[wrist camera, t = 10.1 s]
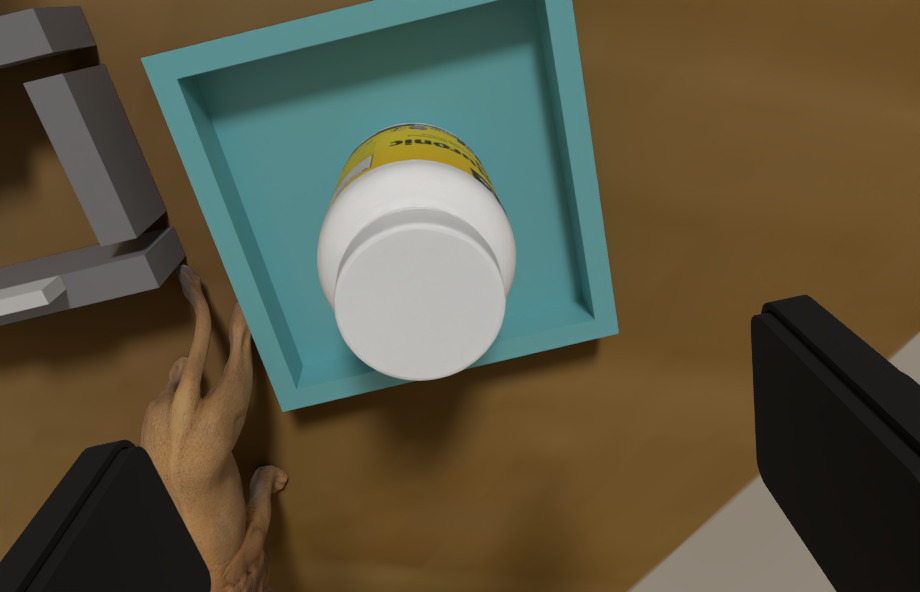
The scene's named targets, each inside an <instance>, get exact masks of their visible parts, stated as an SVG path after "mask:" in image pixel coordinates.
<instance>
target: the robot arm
mask: <svg viewBox="0 0 920 592" xmlns="http://www.w3.org/2000/svg"><path fill="white" fill-rule="evenodd" d="M751 342H752V364H753V386H754V408H755V431H756V453H757V464H758V468H759V472H760V475H761V477H762V479H763V482H764V483H765V485H766V487H767V488H768V490H769V491H770V492H771V494H772V496H773V497H774V499H775V500H776V502H777V503H778V505H779V506H780V508H781V509H782V511H783V512H784V514H785V515H786V517H787V518H788V520H789V521H790V522H791V524H792V526H793V527H794V529H795V530H796V532H797V533H798V535H799V536H800V538H801V539H802V541H803V542H804V544H805V545H806V547H807V548H808V550H809V551H810V553H811V554H812V556H813V557H814V559H815V560H816V562H817V563H818V565H819V566H820V567H821V569H822V570H823V572H824V573H825V575H826V576H827V578H828V580H829V581H830V583H831V584H832V586H833V587H834V588H835V590H836V592H920V385H919V384H918V383H917V382H915V381H914V380H913V379H912V378H910V377H909V376H908V375H906V374H904V373H903V372H901V371H899V370H898V369H897V368H896V367H895V366H893V365H892V364H891V363H890V362H889V361H887V360H886V359H885V358H884V357H883V356H881V355H880V354H879V353H878V352H876V351H875V350H874V349H873V348H872V347H870V346H869V345H868V344H867V343H866V342H864V341H863V340H862V339H861V338H859V337H858V336H857V335H856V334H855V333H853V332H852V331H851V330H850V329H849V328H847V327H846V326H845V325H844V324H843V323H841V322H840V321H839V320H838V319H836V318H835V317H834V316H833V315H832V314H830V313H829V312H828V311H827V310H826V309H824V308H823V307H822V306H821V305H819V304H818V303H817V302H816V301H815V300H813V299H812V298H811V297H809V296H807V295H801V296H796V297H792V298H787V299H782V300H778V301H773V302H768V303H765V304H764V305H763V308H762V311H761V314H759V315H754V316H753V317H752V320H751ZM210 591H211V576H210V572H209V569H208V567H207V565H206V563H205V561H204V559H203V558H202V556H201V554H200V552H199V550H198V548H197V546H196V544H195V542H194V540H193V538H192V536H191V535H190V533H189V531H188V529H187V527H186V525H185V523H184V521H183V519H182V517H181V515H180V514H179V512H178V510H177V508H176V506H175V504H174V502H173V500H172V498H171V496H170V494H169V493H168V491H167V489H166V487H165V485H164V483H163V481H162V479H161V477H160V475H159V473H158V471H157V470H156V468H155V466H154V464H153V462H152V460H151V458H150V456H149V454H148V453H147V451H146V450H145V449H144V448H142V447H139V446H137V447H136V446H135V445H134V444H133V443H132V442H130V441H128V440H121V441H116V442H112V443H107V444H102V445H97V446H93V447H89V448H86V449H85V450H84V451H83V452H82V453H81V455H80V456H79V457H78V459H77V460H76V461H75V463H74V464H73V465H72V467H71V468H70V469H69V471H68V472H67V473H66V475H65V476H64V477H63V479H62V480H61V481H60V483H59V484H58V485H57V487H56V488H55V490H54V491H53V492H52V494H51V495H50V496H49V498H48V499H47V500H46V502H45V503H44V504H43V506H42V507H41V508H40V510H39V511H38V512H37V514H36V515H35V516H34V518H33V519H32V520H31V522H30V523H29V524H28V526H27V527H26V528H25V530H24V531H23V532H22V534H21V535H20V536H19V538H18V539H17V540H16V542H15V543H14V544H13V546H12V547H11V548H10V550H9V551H8V552H7V554H6V555H5V556H4V558H3V559H2V561H1V562H0V592H210Z"/></svg>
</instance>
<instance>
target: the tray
mask: <svg viewBox="0 0 920 592" xmlns="http://www.w3.org/2000/svg"><path fill="white" fill-rule="evenodd" d="M141 60H142V63H143V65H144V68H145V70H146V73H147V75H148V78H149V80H150V83H151V85H152V88H153V90H154V93H155V95H156V97H157V100H158V102H159V105H160V107H161V110H162V112H163V115H164V117H165V120H166V122H167V125H168V127H169V130H170V132H171V135H172V137H173V140H174V142H175V145H176V147H177V150H178V152H179V155H180V157H181V160H182V162H183V165H184V167H185V170H186V172H187V175H188V177H189V180H190V182H191V185H192V187H193V190H194V192H195V195H196V197H197V200H198V202H199V205H200V207H201V210H202V212H203V215H204V217H205V220H206V222H207V225H208V227H209V230H210V232H211V234H212V237H213V239H214V242H215V244H216V247H217V249H218V252H219V254H220V257H221V259H222V262H223V264H224V267H225V269H226V272H227V274H228V277H229V279H230V282H231V284H232V287H233V289H234V292H235V294H236V297H237V299H238V302H239V304H240V307H241V309H242V312H243V314H244V317H245V319H246V322H247V324H248V327H249V329H250V332H251V334H252V337H253V339H254V342H255V344H256V347H257V349H258V352H259V354H260V357H261V359H262V362H263V364H264V367H265V369H266V371H267V374H268V376H269V379H270V381H271V384H272V386H273V389H274V391H275V394H276V396H277V399H278V401H279V404H280V406H281V409H282V411H283V412H285V411H289V410H294V409H298V408H302V407H306V406H311V405H315V404H319V403H324V402H328V401H332V400H336V399H341V398H345V397H349V396H353V395H358V394H362V393H366V392H370V391H375V390H379V389H383V388H388V387H392V386H396V385H400V384H405V383H409V382H413V381H417V380H405V379H399V378H395V377H391V376H388V375H385V374H383V373H381V372H379V371H377V370H375V369H373V368H372V367H370V366H368V365H367V364H366V363H364V362H363V361H362V360H361V359H359V358H358V357H357V356H356V355H355V354H354V353H353V352H352V350H351V349H350V348H349V347H348V345H347V344H346V342H345V341H344V339H343V337H342V335H341V333H340V331H339V328H338V325H337V322H336V318H335V313H334V311H333V310H332V308H331V307H330V305H329V303H328V301H327V299H326V297H325V295H324V293H323V290H322V287H321V284H320V280H319V276H318V269H317V247H318V240H319V235H320V231H321V227H322V224H323V221H324V218H325V216H326V213H327V211H328V208H329V205H330V202H331V199H332V196H333V194H334V191H335V188H336V186H337V183H338V180H339V177H340V175H341V172H342V170H343V168H344V166H345V164H346V162H347V160H348V159H349V157H350V156H351V154H352V153H353V152H354V150H355V149H356V148H357V147H358V146H359V145H360V144H361V143H362V142H363V141H365V140H366V139H367V138H368V137H370V136H371V135H373V134H374V133H376V132H378V131H380V130H382V129H384V128H387V127H389V126H393V125H397V124H402V123H424V124H429V125H433V126H437V127H440V128H442V129H444V130H447V131H449V132H451V133H452V134H454V135H455V136H457V137H458V138H460V139H461V140H462V141H463V142H464V143H466V144H467V145H468V146H469V148H470V149H471V150H472V151H473V152H474V153H475V155H476V156H477V158H478V159H479V160H480V162H481V164H482V165H483V167H484V169H485V171H486V173H487V176H488V178H489V180H490V182H491V184H492V186H493V188H494V190H495V192H496V195H497V197H498V199H499V201H500V203H501V204H502V206H503V208H504V210H505V212H506V214H507V217H508V220H509V223H510V225H511V229H512V232H513V235H514V240H515V246H516V269H515V275H514V279H513V283H512V287H511V289H510V292H509V294H508V296H507V298H506V308H505V315H504V319H503V323H502V326H501V328H500V331H499V333H498V335H497V337H496V339H495V340H494V342H493V343H492V345H491V346H490V347H489V349H488V350H487V351H486V352H485V353H484V354H483V355H482V356H481V357H480V358H479V359H478V360H477V361H475V362H474V363H473V364H471V365H470V366H468V367H467V368H465V369H469V368H473V367H477V366H482V365H486V364H490V363H494V362H499V361H503V360H507V359H511V358H516V357H520V356H524V355H529V354H533V353H537V352H541V351H546V350H550V349H554V348H558V347H563V346H567V345H571V344H576V343H580V342H584V341H588V340H593V339H597V338H601V337H605V336H610V335H614V334H618V333H619V331H618V324H617V317H616V310H615V303H614V296H613V288H612V281H611V274H610V267H609V260H608V253H607V246H606V239H605V232H604V225H603V218H602V210H601V203H600V196H599V189H598V182H597V175H596V168H595V161H594V154H593V147H592V140H591V133H590V125H589V118H588V111H587V104H586V97H585V90H584V83H583V76H582V69H581V62H580V55H579V47H578V40H577V33H576V26H575V19H574V12H573V5H572V0H374V1H370V2H366V3H362V4H358V5H354V6H350V7H346V8H342V9H338V10H334V11H330V12H326V13H322V14H318V15H314V16H310V17H305V18H301V19H297V20H293V21H289V22H285V23H281V24H277V25H273V26H269V27H265V28H261V29H257V30H253V31H249V32H245V33H241V34H237V35H233V36H229V37H225V38H221V39H216V40H212V41H208V42H204V43H200V44H196V45H192V46H188V47H184V48H180V49H176V50H172V51H168V52H164V53H160V54H156V55H152V56H148V57H144V58H141ZM463 370H464V369H463Z"/></svg>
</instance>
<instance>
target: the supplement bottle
mask: <svg viewBox="0 0 920 592" xmlns="http://www.w3.org/2000/svg"><path fill="white" fill-rule="evenodd" d="M317 269H318V276H319V280H320V284H321V287H322V290H323V293H324V295H325V297H326V299H327V301H328V303H329V305H330V307H331V308H332V310H333V311H334V313H335V318H336V322H337V325H338V328H339V331H340V333H341V335H342V337H343V339H344V341H345V342H346V344H347V345H348V347H349V348H350V349H351V350H352V352H353V353H354V354H355V355H356V356H357V357H358V358H359V359H361V360H362V361H363V362H364V363H366V364H367V365H368V366H370V367H372V368H373V369H375V370H377V371H379V372H381V373H383V374H385V375H388V376H391V377H395V378H399V379H405V380H417V381H423V380H434V379H439V378H443V377H447V376H450V375H453V374H455V373H457V372H459V371H462V370H463V369H465V368H467V367H468V366H470V365H471V364H473V363H474V362H475V361H477V360H478V359H479V358H480V357H481V356H482V355H483V354H484V353H485V352H486V351H487V350H488V349H489V347H490V346H491V345H492V343H493V342H494V340H495V339H496V337H497V335H498V333H499V331H500V328H501V326H502V323H503V319H504V315H505V308H506V298H507V296H508V294H509V292H510V289H511V287H512V283H513V279H514V275H515V269H516V246H515V240H514V235H513V232H512V229H511V225H510V223H509V220H508V217H507V214H506V212H505V210H504V208H503V206H502V204H501V203H500V201H499V199H498V197H497V195H496V192H495V190H494V188H493V186H492V184H491V182H490V180H489V178H488V176H487V173H486V171H485V169H484V167H483V165H482V164H481V162H480V160H479V159H478V158H477V156H476V155H475V153H474V152H473V151H472V150H471V149H470V148H469V146H468V145H467V144H466V143H464V142H463V141H462V140H461V139H460V138H458V137H457V136H455V135H454V134H452V133H451V132H449V131H447V130H444V129H442V128H440V127H437V126H433V125H429V124H424V123H402V124H397V125H393V126H389V127H387V128H384V129H382V130H380V131H378V132H376V133H374V134H373V135H371V136H370V137H368V138H367V139H366V140H365V141H363V142H362V143H361V144H360V145H359V146H358V147H357V148H356V149H355V150H354V152H353V153H352V154H351V156H350V157H349V159H348V160H347V162H346V164H345V166H344V168H343V170H342V172H341V175H340V177H339V180H338V183H337V186H336V188H335V191H334V194H333V196H332V199H331V202H330V205H329V208H328V211H327V213H326V216H325V218H324V221H323V224H322V227H321V231H320V235H319V240H318V247H317Z"/></svg>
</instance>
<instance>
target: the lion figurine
mask: <svg viewBox="0 0 920 592" xmlns="http://www.w3.org/2000/svg"><path fill="white" fill-rule="evenodd" d="M176 274H177V277H178V279H179V281H180V284H181V286H182V291H183V293H184V295H185V297H186V298H187V299H188V300H189V301H190V303H191V305H192V306H193V308H194V311H195V315H196V328H195V334H194V339H193V343H192V346H191V350H190V353H189V357H188V358H186V357H181V358H180V359H178V360H177V361H175V363H174V364H173V366H172V367H171V370H170V372H169V378H170V380H169V381H168V383H167V385H166V387H165V388H164V390H163V391H162V392H161V394H160V395H159V396H158V397H157V398H156V399H154V400H153V401H152V402H150V404H149V406H148V407H147V410H146V413H145V417H144V421H143V426H142V432H141V447H142V448H144V449H145V450H146V451H147V453H148V454H149V456H150V458H151V460H152V462H153V464H154V466H155V468H156V470H157V471H158V473H159V475H160V477H161V479H162V481H163V483H164V485H165V487H166V489H167V491H168V493H169V494H170V496H171V498H172V500H173V502H174V504H175V506H176V508H177V510H178V512H179V514H180V515H181V517H182V519H183V521H184V523H185V525H186V527H187V529H188V531H189V533H190V535H191V536H192V538H193V540H194V542H195V544H196V546H197V548H198V550H199V552H200V554H201V556H202V558H203V559H204V561H205V563H206V565H207V567H208V569H209V572H210V576H211V591H210V592H275V591H274V590H273V589H272V588H271V587H270V584H269V578H270V564H269V558H268V553H267V549H266V546H265V542H264V541H265V538H266V535H267V532H268V528H269V524H270V519H271V500H270V499H271V493H276V492H277V491H278V490H281V489H282V488H283V487H284V485H285V483H286V481H287V479H288V476H287V474H286V473H285V472H284V471H283V470H281V469H279V468H277V467H275V466H272V465H271V466H262V467H259V468H258V469H257V470H256V471H255V473H254V475H253V477H252V479H251V481H250V486H249V491H250V498H249V502H248V503H247V504H245V500H244V496H243V489H242V484H241V478H240V473H239V470H238V467H237V464H236V461H235V459H234V457H233V454H232V452H231V451H232V449H233V448H234V446H235V444H236V442H237V440H238V437H239V435H240V433H241V430H242V428H243V425H244V422H245V418H246V413H247V409H248V405H249V402H250V399H251V393H252V381H253V364H252V350H251V337H252V334H251V332H250V329H249V327H248V324H247V322H246V319H245V317H244V314H243V312H242V309H241V307H240V304H239V302H237V303H236V304H235V306H234V308H233V315H232V318H231V322H230V326H229V340H230V356H229V359H228V362H227V364H226V366H225V368H224V372H223V375H222V377H221V378H220V380H219V381H218V382H217V383H216V384H215V385H214V386H213V387H212V388H211V389H210V390H209V391H208V392H207V393H206V394H204V395H203V396H202V394H201V389H200V383H201V377H202V373H203V369H204V365H205V361H206V357H207V353H208V348H209V342H210V335H211V326H212V324H211V315H210V310H209V307H208V304H207V301H206V299H205V297H204V295H203V292H202V288H201V280H200V277H199V276H197V275H196V274H195V273H194V271H193V270H192V269H191V268H190V267H188V266H186V265H180V266H178V267H177V268H176Z"/></svg>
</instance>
